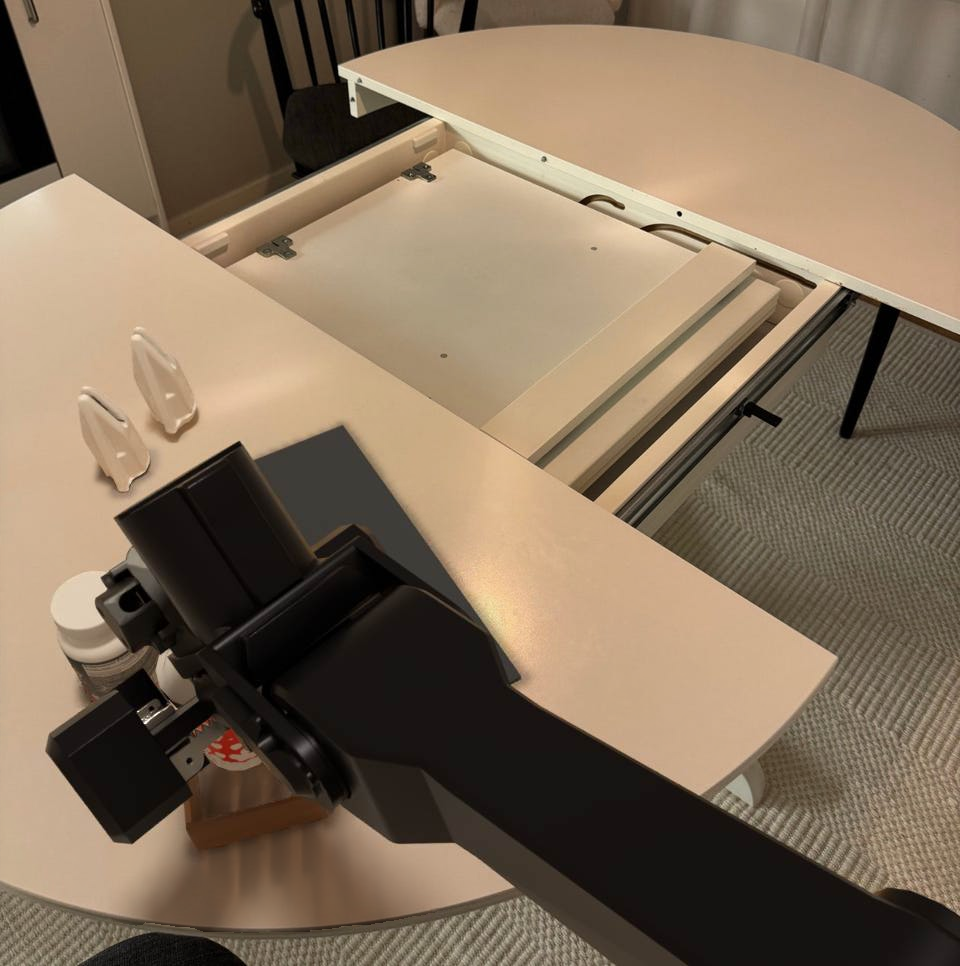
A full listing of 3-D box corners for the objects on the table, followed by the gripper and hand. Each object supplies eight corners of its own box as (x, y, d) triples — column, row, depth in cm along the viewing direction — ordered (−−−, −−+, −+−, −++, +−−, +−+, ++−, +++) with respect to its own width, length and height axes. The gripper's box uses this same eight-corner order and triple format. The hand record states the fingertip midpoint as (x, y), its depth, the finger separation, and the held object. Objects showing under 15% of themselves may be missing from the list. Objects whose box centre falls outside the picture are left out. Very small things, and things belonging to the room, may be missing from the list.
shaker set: (179, 393, 90) (149, 297, 81) (215, 408, 88) (187, 311, 80) (88, 477, 83) (45, 381, 74) (125, 494, 81) (85, 398, 73)
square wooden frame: (329, 817, 62) (322, 794, 60) (198, 851, 61) (185, 829, 58) (308, 705, 68) (302, 680, 65) (188, 735, 66) (176, 710, 64)
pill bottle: (86, 654, 71) (41, 574, 63) (165, 635, 72) (129, 554, 64) (89, 722, 67) (41, 645, 60) (172, 700, 68) (135, 622, 61)
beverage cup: (273, 790, 58) (226, 666, 47) (177, 774, 58) (110, 648, 48) (303, 700, 62) (266, 568, 51) (213, 687, 63) (158, 554, 52)
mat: (521, 678, 69) (521, 675, 69) (411, 737, 66) (411, 734, 66) (343, 427, 87) (342, 424, 86) (249, 464, 84) (248, 461, 83)
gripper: (358, 418, 45) (259, 461, 59) (-19, 663, 36) (-34, 648, 50) (478, 611, 47) (356, 610, 61) (149, 888, 38) (92, 815, 52)
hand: (205, 662), depth 56 cm, fingers closed on beverage cup, 6 cm apart
